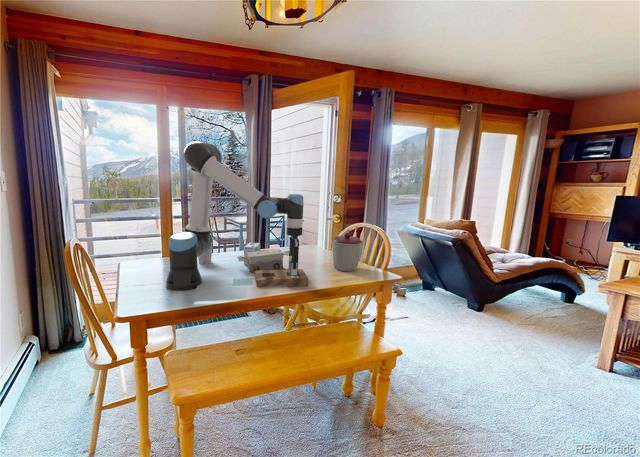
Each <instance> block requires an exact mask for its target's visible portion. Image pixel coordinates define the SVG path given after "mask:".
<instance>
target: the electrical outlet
mask: <svg viewBox="0 0 640 457" xmlns="http://www.w3.org/2000/svg"><path fill="white" fill-rule="evenodd" d="M284 256H288V257H289V250H285V251H282V250H281V249H280V248H277V249H268V250H260V251H257V252H248V253H247V256H244V255H242V256H237V257H236V258H237V259H238V262H244V261H245V260H247V264H248V265H247V269H248V271H249V272H252V273H255V271H258V270H284V262H283V261H284Z"/></svg>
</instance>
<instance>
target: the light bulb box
mask: <svg viewBox="0 0 640 457" xmlns="http://www.w3.org/2000/svg"><path fill="white" fill-rule="evenodd" d="M257 251H261V243H260V242H249V243H247V244H246V245H244V246H243V257H244V256H247V253H248V252H257ZM243 265H244V266H248V264H247V260H245V261H243Z"/></svg>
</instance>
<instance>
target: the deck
mask: <svg viewBox="0 0 640 457" xmlns="http://www.w3.org/2000/svg"><path fill="white" fill-rule="evenodd" d="M253 285H254V282H253V278H252V277H248V278H247V277H246V278H245V277H244V278H233V279H232V287H233V286H253Z"/></svg>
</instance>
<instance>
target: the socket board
mask: <svg viewBox="0 0 640 457" xmlns="http://www.w3.org/2000/svg"><path fill="white" fill-rule="evenodd" d="M288 271H289V269H282V270H258V271H255V272H254V279H255V286H256V287H257V288H258V287H274V286H275V287H277V286H287V288H299V287H308V286H309V278H308V276H307V274H306V272H305V271H304V270H303V268H298V276H288Z"/></svg>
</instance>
